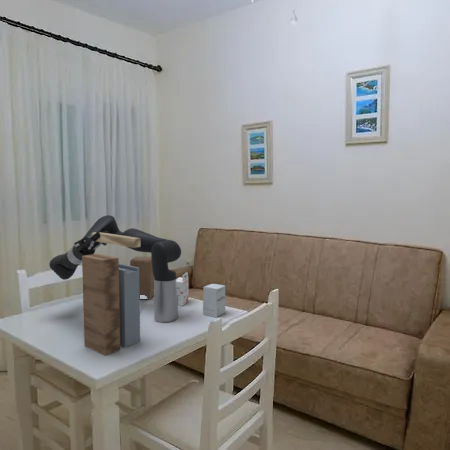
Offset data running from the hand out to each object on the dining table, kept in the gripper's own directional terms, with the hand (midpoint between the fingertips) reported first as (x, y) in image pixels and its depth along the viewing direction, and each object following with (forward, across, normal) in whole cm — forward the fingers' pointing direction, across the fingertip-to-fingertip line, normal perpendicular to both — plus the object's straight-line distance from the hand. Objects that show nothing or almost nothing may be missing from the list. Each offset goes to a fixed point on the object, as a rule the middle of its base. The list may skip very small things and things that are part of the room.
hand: (103, 233), depth 141 cm
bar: (+5, 0, +6) cm, 8 cm away
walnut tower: (-10, -8, +38) cm, 40 cm away
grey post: (-10, 0, +38) cm, 39 cm away
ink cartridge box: (-23, +46, +31) cm, 60 cm away
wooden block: (-42, +40, +20) cm, 62 cm away
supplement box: (-3, +44, +42) cm, 61 cm away
